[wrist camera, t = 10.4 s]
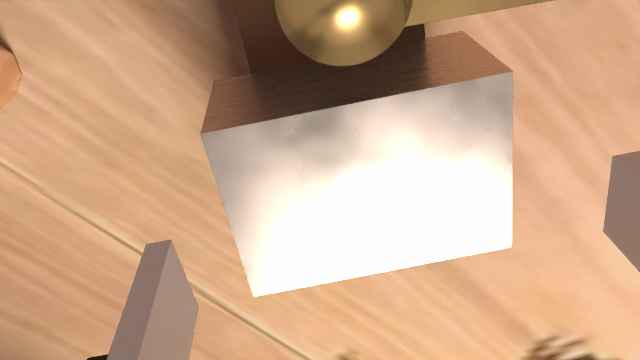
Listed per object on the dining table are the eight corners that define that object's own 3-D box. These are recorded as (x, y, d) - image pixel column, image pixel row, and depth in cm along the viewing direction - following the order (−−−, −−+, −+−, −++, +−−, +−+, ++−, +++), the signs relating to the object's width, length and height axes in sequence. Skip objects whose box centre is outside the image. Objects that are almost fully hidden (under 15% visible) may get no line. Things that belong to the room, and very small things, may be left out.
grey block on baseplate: (255, 222, 25) (253, 297, 20) (214, 80, 21) (200, 133, 17) (468, 181, 24) (511, 246, 20) (462, 30, 21) (513, 71, 17)
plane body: (417, 168, 29) (477, 285, 21) (288, 193, 29) (297, 320, 21) (381, -209, 20) (458, -266, 12) (199, -171, 21) (153, -202, 12)
